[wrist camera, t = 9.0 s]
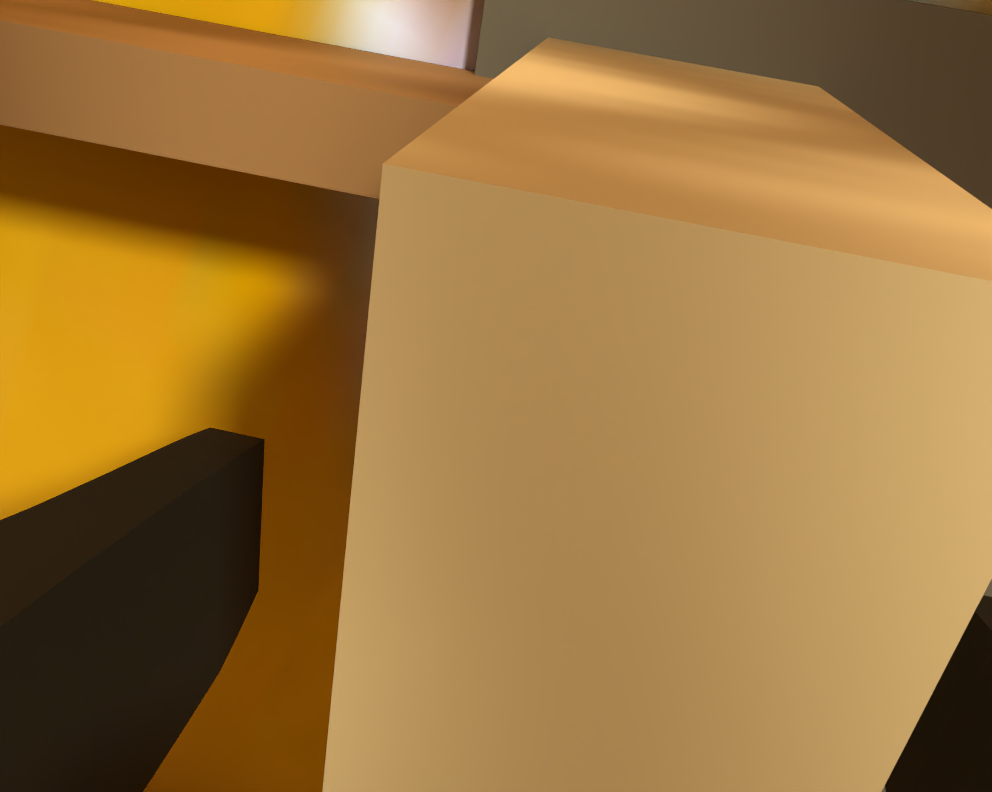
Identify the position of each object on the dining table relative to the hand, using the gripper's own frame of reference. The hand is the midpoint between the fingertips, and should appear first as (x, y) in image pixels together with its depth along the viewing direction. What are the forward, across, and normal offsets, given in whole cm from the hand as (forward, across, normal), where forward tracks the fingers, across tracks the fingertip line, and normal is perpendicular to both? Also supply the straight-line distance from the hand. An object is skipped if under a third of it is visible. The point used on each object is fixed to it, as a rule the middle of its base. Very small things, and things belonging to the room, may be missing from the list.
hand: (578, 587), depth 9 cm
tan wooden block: (+3, 0, 0) cm, 3 cm away
